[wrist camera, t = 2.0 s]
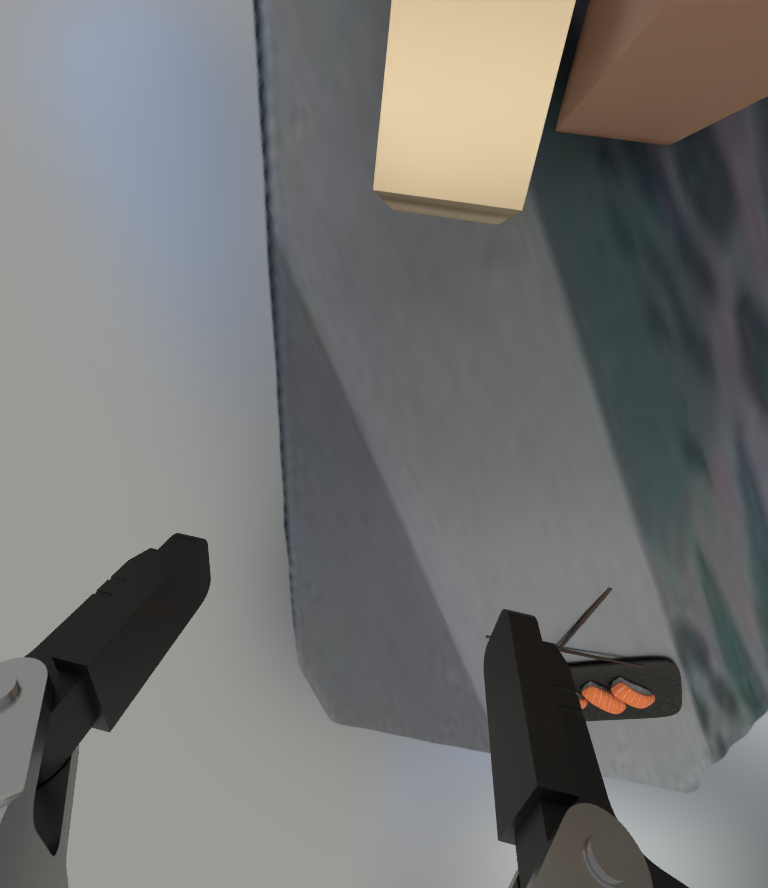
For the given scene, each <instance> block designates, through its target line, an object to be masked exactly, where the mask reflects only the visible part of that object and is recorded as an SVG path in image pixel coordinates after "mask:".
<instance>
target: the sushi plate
mask: <svg viewBox="0 0 768 888" xmlns="http://www.w3.org/2000/svg"><path fill="white" fill-rule="evenodd" d="M611 590H612V588H610V587H609V588H608V589H607V590H606V591H605V592H604V593H603V594H602V595H601V596H600V597H599V598H598V599H597V600H596V601H595V603H594V604H593V605H592V606H591V607H590V608H589V609H588V610H587V611H586V612H585V614H584V615H583V616H582V617H581V619H580V620H579V621H578V623H577V624H576V625H575V626H574V628H573V629H572V630H571V632H570V633H569V634H568V636H567V637H566V638H565V639H564V641H563V642H562V643H561V644H560V646H559V647H558V650H559V651H560V652H564V653H569V654H575V655H580V656H585V657H590V658H595V659H600V660H605V661H610V662H615V663H603V664H591V665H579V666H569V667H570V671H571V674H572V677H573V681H574V684H575V687H576V695H578V698H579V701H580V704H581V708H582V716H584V718H585V721H599V720H621V719H641V718H657V717H666V716H671V715H674V714H677V713H678V712H679V710H680V709H681V705H682V687H681V676H680V671H679V669H678V667H677V666H676V664H674V663H673V662H671V661H668V660H640V661H627V662H623V661H619V660H614V659H609V658H604V657H599V656H594V655H590V654H585V653H580V652H575V651H570V650H566V649H562V648H563V646H564V645H565V644H566V643H567V642H568V641H569V639H570V638H571V637H572V636H573V635H574V634H575V632H576V631H577V630H578V629H579V628H580V627H581V626H582V624H583V623H584V622H585V621H586V620H587V619H588V617H589V616H590V615H591V614H592V613H593V611H594V610H595V609H596V608H597V607H598V606H599V604H600V603H601V602H602V601H603V600H604V599H605V597H606V596H607V595H608V594H609V593H610V591H611ZM490 637H491V636H488V635H486V638H490Z"/></svg>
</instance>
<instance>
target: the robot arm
mask: <svg viewBox="0 0 768 888" xmlns="http://www.w3.org/2000/svg"><path fill="white" fill-rule="evenodd" d="M210 580H211V577H210V565H209V553H208V543H207V541H206V540H205V539H202V538H198V537H194V536H189V535H185V534H180V533H176V534H174V535H172V536H171V537H170V538H169V539H168V540H167V541H166V542H165V543H164V544H163V545H162V546H161V547H160V548H159V549H158V550H156V549H152V548H150V549H148V550H146V551H144V552H143V553H141V554H139V555H137V556H135V557H134V558H132V559H130V560H128V561H127V562H126V563H125V564H124V565H123V566H122V567H121V568H120V569H119V570H118V571H117V572H116V573H114V574H113V575H112V576H111V579H110V580H107V581H106V582H105V583H104V584H103V585H102V586H101V587H100V588H99V589H98V590H97V592H96V593H95V594H92V595H91V596H90V597H89V598H88V599H87V600H86V601H85V602H84V603H83V604H82V605H81V606H80V607H79V608H78V609H76V610H75V611H74V612H73V613H72V614H71V615H70V616H69V617H68V618H67V619H66V620H65V621H64V622H63V623H62V624H60V625H59V626H58V627H57V628H56V629H55V630H54V631H53V632H52V633H51V634H50V635H49V636H48V637H47V638H46V639H45V640H44V641H43V642H41V643H40V644H39V645H38V646H37V647H36V648H35V649H34V650H33V651H32V652H30V653H29V654H28V655H26V656H25V657H23V658H15V659H11V660H7V661H4V662H1V663H0V888H68V878H67V870H66V855H67V854H66V853H67V845H68V837H69V829H70V821H71V812H72V803H73V796H74V788H75V779H76V772H77V764H78V755H79V743H80V742H81V740H82V739H83V738H84V737H85V735H86V734H87V732H88V731H89V730H90V729H91V727H92V728H96V729H99V730H104V731H107V732H110V731H111V730H112V729H113V727H114V726H115V724H116V723H117V722H118V720H119V719H120V717H121V716H122V715H123V713H124V712H125V710H126V709H127V708H128V706H129V705H130V703H131V702H132V701H133V699H134V698H135V696H136V695H137V694H138V692H139V691H140V689H141V688H142V687H143V685H144V684H145V682H146V681H147V680H148V678H149V677H150V675H151V674H152V673H153V671H154V670H155V668H156V667H157V666H158V664H159V663H160V661H161V660H162V659H163V657H164V655H165V654H166V653H167V652H168V650H169V649H170V647H171V646H172V645H173V643H174V642H175V640H176V639H177V638H178V636H179V635H180V633H181V632H182V630H183V629H184V628H185V626H186V625H187V624H188V622H189V621H190V619H191V618H192V617H193V615H194V614H195V612H196V611H197V610H198V608H199V607H200V605H201V604H202V603H203V601H204V599H205V597H206V595H207V593H208V590H209V587H210ZM484 680H485V692H486V703H487V715H488V727H489V739H490V750H491V762H492V773H493V785H494V797H495V809H496V820H497V833H498V840H499V841H502V842H506V843H509V844H513V845H516V853H517V862H518V870H517V871H516V873H515V875H514V877H513V879H512V881H511V883H510V885H509V887H508V888H689V887H687V886H686V885H684V884H683V883H681V882H680V881H678V880H677V879H675V878H673V877H672V876H671V875H669V874H668V873H666V872H664V871H663V870H661V869H660V868H659V867H658V866H656V865H655V864H654V863H652V862H651V861H650V860H649V859H648V858H647V857H646V856H644V854H643V853H642V852H641V850H640V849H639V847H638V845H637V843H636V842H635V840H634V839H633V837H632V836H631V835H630V833H629V832H628V831H627V829H626V828H625V827H624V826H623V825H622V824H621V823H620V822H619V821H618V820H617V818H616V817H615V814H614V812H613V810H612V807H611V805H610V802H609V799H608V796H607V792H606V789H605V786H604V782H603V779H602V775H601V772H600V769H599V765H598V762H597V759H596V755H595V752H594V748H593V745H592V742H591V738H590V735H589V731H588V728H587V725H586V721H585V718H584V716H582V708H581V704H580V701H579V698H578V695H576V687H575V684H574V681H573V677H572V674H571V671H570V667H569V665H568V664H567V662H566V661H565V659H564V657H563V656H562V654H561V653H560V651H559V650H558V648H557V647H556V645H555V644H553V643H549V642H544V641H542V638H541V634H540V630H539V626H538V622H537V620H536V618H535V617H534V616H532V615H528V614H524V613H519V612H515V611H511V610H506V609H503V610H502V612H501V614H500V616H499V618H498V621H497V623H496V625H495V628H494V630H493V632H492V635H491V637H490V639H489V642H488V644H487V647H486V651H485V656H484Z"/></svg>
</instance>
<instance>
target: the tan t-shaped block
mask: <svg viewBox="0 0 768 888" xmlns="http://www.w3.org/2000/svg"><path fill="white" fill-rule="evenodd" d="M575 2H576V0H392V5H391V15H390V25H389V35H388V45H387V55H386V65H385V75H384V85H383V95H382V105H381V115H380V125H379V135H378V145H377V156H376V166H375V176H374V186H373V190H374V191H375V192H376V193H377V194H378V195H379V196H380V197H381V198H382V200H383V201H384V202H385V203H386V204H387V205H388V206H389V207H390V208H391V209H392V210H396V211H403V212H410V213H417V214H424V215H431V216H438V217H446V218H453V219H460V220H467V221H474V222H481V223H488V224H495V225H499V224H501V223H503V222H504V221H506V220H508V219H509V218H511V217H513V216H514V215H516V214H517V213H519V212H521V211H522V210H523V206H524V202H525V198H526V194H527V190H528V186H529V182H530V179H531V175H532V171H533V167H534V163H535V159H536V155H537V151H538V147H539V143H540V139H541V135H542V131H543V127H544V124H545V120H546V116H547V112H548V108H549V104H550V100H551V96H552V92H553V88H554V84H555V80H556V76H557V72H558V69H559V65H560V61H561V57H562V53H563V49H564V45H565V41H566V37H567V33H568V29H569V25H570V21H571V17H572V14H573V10H574V6H575Z"/></svg>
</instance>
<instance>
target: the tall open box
mask: <svg viewBox="0 0 768 888" xmlns="http://www.w3.org/2000/svg"><path fill="white" fill-rule="evenodd" d="M767 96H768V0H589V3H588V7H587V11H586V14H585V18H584V22H583V26H582V30H581V33H580V37H579V41H578V45H577V48H576V52H575V56H574V60H573V63H572V67H571V71H570V75H569V78H568V82H567V86H566V90H565V93H564V97H563V101H562V105H561V108H560V112H559V116H558V120H557V124H556V127H555V131H556V132H564V133H572V134H580V135H588V136H596V137H604V138H612V139H620V140H628V141H636V142H644V143H652V144H660V145H668V146H669V145H671V144H673V143H675V142H677V141H679V140H681V139H683V138H685V137H687V136H689V135H691V134H693V133H695V132H697V131H699V130H701V129H703V128H705V127H707V126H709V125H711V124H713V123H715V122H717V121H719V120H721V119H723V118H725V117H727V116H729V115H731V114H733V113H735V112H737V111H739V110H741V109H743V108H745V107H747V106H749V105H751V104H753V103H755V102H757V101H759V100H761V99H763V98H765V97H767Z"/></svg>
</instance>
